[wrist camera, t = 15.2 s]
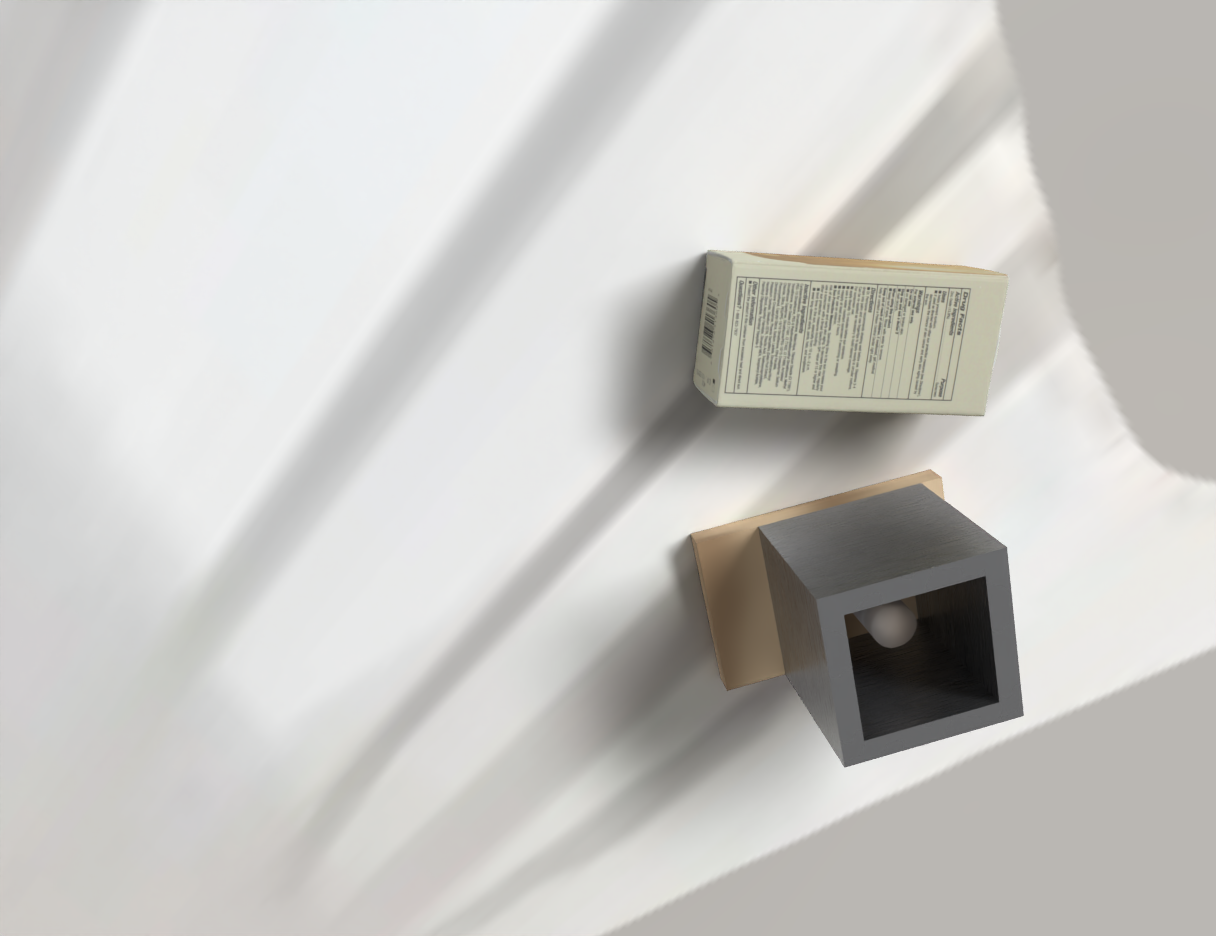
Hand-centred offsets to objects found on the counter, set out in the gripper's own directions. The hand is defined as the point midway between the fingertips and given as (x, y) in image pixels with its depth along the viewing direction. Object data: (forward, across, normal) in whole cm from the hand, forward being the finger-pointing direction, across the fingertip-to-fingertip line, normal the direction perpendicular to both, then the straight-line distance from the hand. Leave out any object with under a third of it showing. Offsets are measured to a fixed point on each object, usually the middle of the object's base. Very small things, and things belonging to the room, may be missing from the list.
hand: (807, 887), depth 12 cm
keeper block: (+37, +11, -16) cm, 41 cm away
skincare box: (+34, +7, -2) cm, 35 cm away
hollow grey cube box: (+36, +12, -16) cm, 41 cm away
